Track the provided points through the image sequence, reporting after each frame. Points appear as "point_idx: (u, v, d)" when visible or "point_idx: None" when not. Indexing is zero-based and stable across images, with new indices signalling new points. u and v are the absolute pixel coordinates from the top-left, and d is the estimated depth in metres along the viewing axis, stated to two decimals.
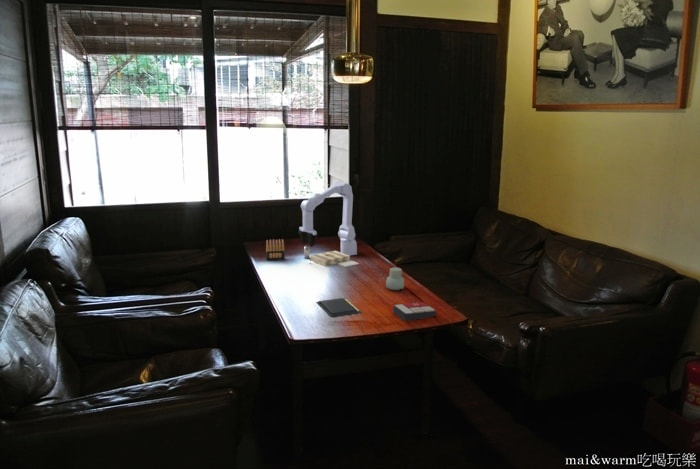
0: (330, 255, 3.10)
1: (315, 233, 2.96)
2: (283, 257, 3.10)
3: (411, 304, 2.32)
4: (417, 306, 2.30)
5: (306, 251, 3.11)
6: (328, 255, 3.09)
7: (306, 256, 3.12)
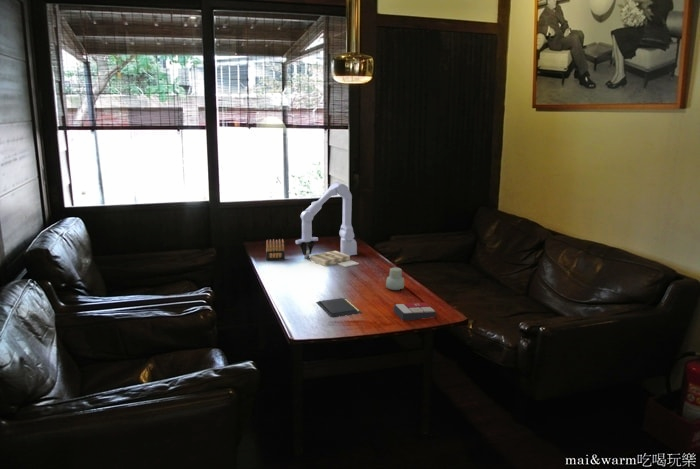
0: (330, 255, 3.10)
1: (296, 242, 3.06)
2: (283, 257, 3.10)
3: (412, 304, 2.32)
4: (418, 306, 2.30)
5: (306, 251, 3.11)
6: (328, 255, 3.09)
7: (306, 256, 3.12)
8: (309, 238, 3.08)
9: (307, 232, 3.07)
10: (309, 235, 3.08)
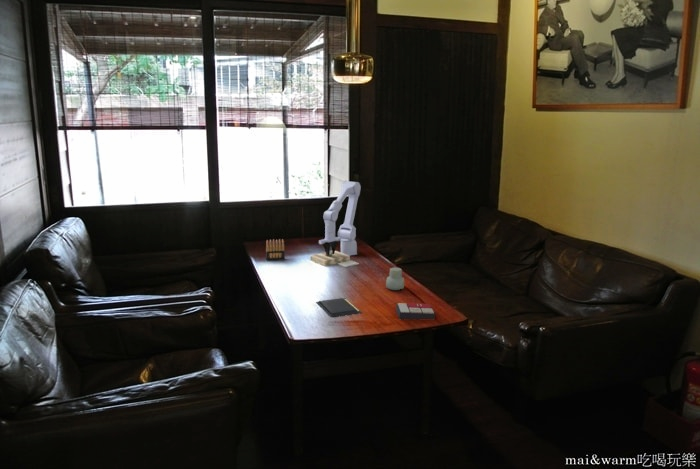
0: None
1: (320, 242, 3.02)
2: (283, 257, 3.10)
3: (414, 304, 2.32)
4: (419, 307, 2.30)
5: (329, 251, 3.06)
6: None
7: (329, 256, 3.07)
8: (333, 238, 3.04)
9: (331, 232, 3.02)
10: (333, 235, 3.03)
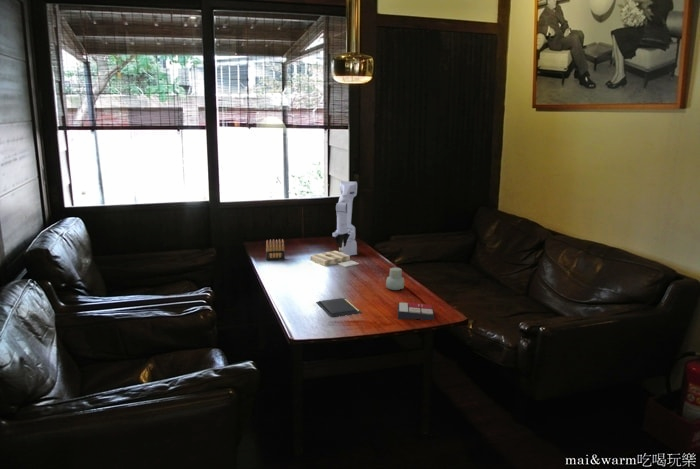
0: None
1: (334, 235, 2.95)
2: (283, 257, 3.10)
3: (416, 304, 2.32)
4: (419, 307, 2.29)
5: (342, 244, 3.01)
6: None
7: (342, 249, 3.02)
8: (345, 230, 2.99)
9: (344, 224, 2.97)
10: (345, 227, 2.98)
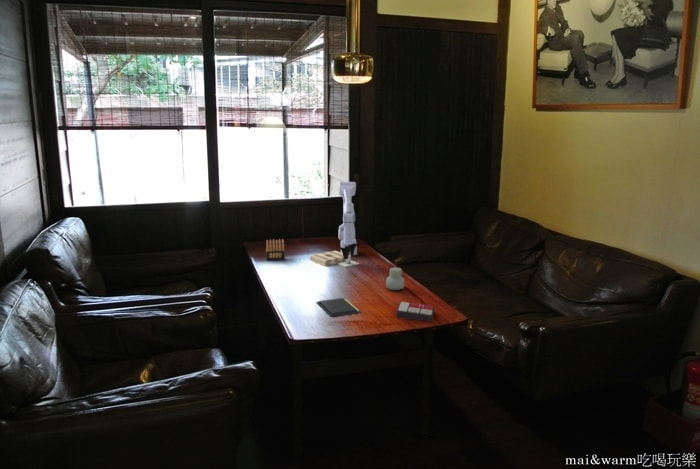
0: None
1: (343, 246, 2.93)
2: (283, 257, 3.10)
3: (417, 304, 2.32)
4: (419, 307, 2.29)
5: (349, 256, 3.00)
6: None
7: (349, 261, 3.01)
8: (353, 240, 2.98)
9: (351, 234, 2.96)
10: (353, 237, 2.98)
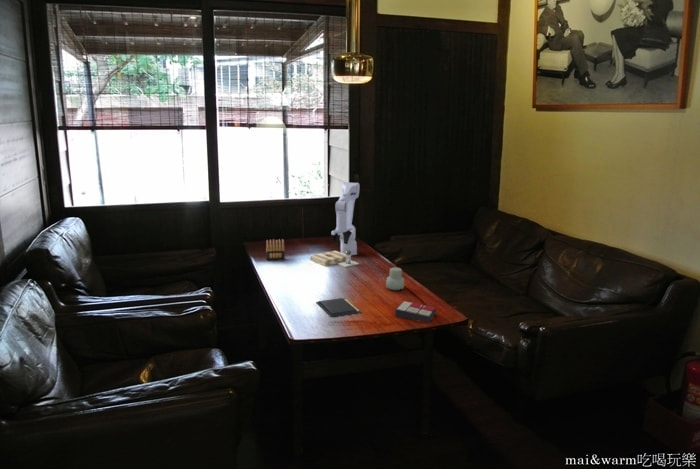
0: None
1: (332, 233, 3.00)
2: (283, 257, 3.10)
3: (419, 305, 2.31)
4: (420, 308, 2.28)
5: (349, 256, 3.00)
6: None
7: (349, 261, 3.01)
8: (345, 228, 3.03)
9: (343, 222, 3.01)
10: (345, 225, 3.02)
